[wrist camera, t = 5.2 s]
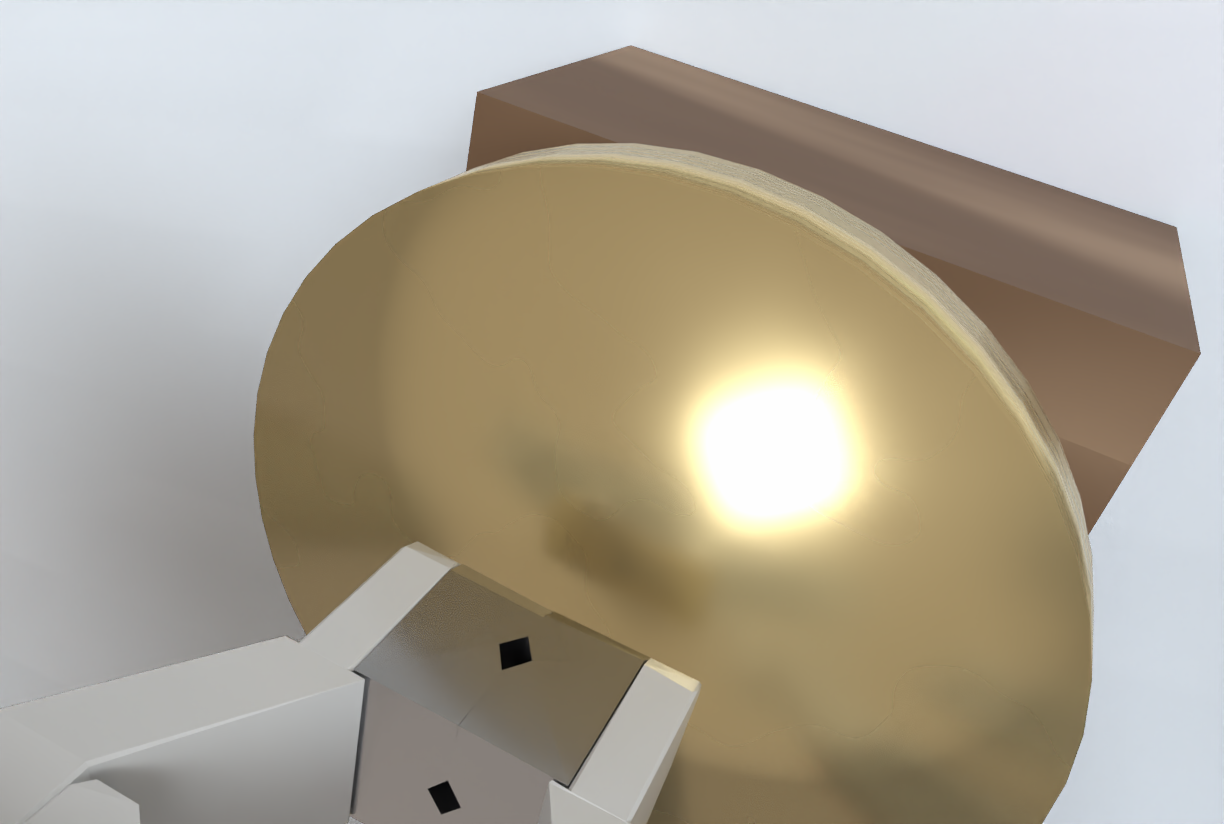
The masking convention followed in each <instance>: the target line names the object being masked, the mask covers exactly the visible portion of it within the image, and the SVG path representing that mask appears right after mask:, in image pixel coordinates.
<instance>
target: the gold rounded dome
mask: <svg viewBox="0 0 1224 824" xmlns="http://www.w3.org/2000/svg"><path fill="white" fill-rule="evenodd" d="M254 453H255V477H256V483H257V489H258V496H259V502H260V508H261V514H262V520H263V523H264V527H265V531H266V534H267V538H268V541H269V545H270V549H271V552H272V556H273V560H274V562H275V565H276V567H277V570H278V573H279V575H280V578H281V580H282V583H283V586H284V588H285V591H286V593H287V596H288V599H289V601H290V603H291V605H292V607H293V609H294V611H295V613H296V615H297V617H298V619H299V621H300V623H301V625H302V627H303V629H304V631H305V633H306V635H307V634H309V633H310V632H311V631H312V630H313V629H314V628H315V627H316V626H317V625H318V624H319V623H320V622H322V621H323V620H324V619H325V618H326V617H327V616H328V615H329V614H330V613H331V612H332V611H334V610H335V609H336V608H337V607H338V606H339V605H340V604H341V603H342V602H343V601H344V600H345V599H347V598H348V597H349V596H350V595H351V594H352V593H353V592H354V591H355V590H356V589H357V588H358V587H360V586H361V585H362V584H363V583H364V582H365V581H366V580H367V579H368V578H369V577H370V576H372V575H373V574H374V573H375V572H376V571H377V570H378V569H379V568H380V567H381V566H382V565H383V564H385V563H386V562H387V561H388V560H389V559H390V558H391V557H392V556H393V555H394V554H395V553H396V552H398V551H399V550H400V549H401V548H402V547H405V546H407V545H410V544H412V543H415V542H417V541H418V542H420V543H422V544H424V545H426V546H428V547H430V548H431V549H433V550H435V551H437V552H439V553H441V554H443V555H445V556H447V557H448V558H450V559H452V560H454V561H456V562H458V563H460V564H464V565H466V566H468V567H469V568H471V569H473V570H475V571H477V572H479V573H481V574H483V575H485V576H486V577H488V578H490V579H492V580H494V581H496V582H498V583H500V584H502V585H503V586H505V587H507V588H509V589H511V590H513V591H515V592H517V593H519V594H521V595H522V596H524V597H526V598H528V599H530V600H532V601H534V602H536V603H538V604H539V605H541V606H543V607H545V608H547V609H549V610H551V611H552V612H554V611H555V612H557V613H559V614H561V615H563V616H565V617H567V618H569V619H571V620H574V621H576V622H578V623H580V624H582V625H584V626H586V627H588V628H590V629H592V630H594V631H596V632H598V633H600V634H602V635H605V636H607V637H609V638H611V639H613V640H615V641H617V642H619V643H621V644H623V645H625V646H627V647H629V648H631V649H633V650H636V651H638V652H640V653H642V654H644V655H646V656H648V657H650V658H652V659H654V660H656V661H658V662H660V663H662V664H664V665H666V666H668V667H671V668H673V669H675V670H677V671H679V672H681V673H683V674H685V675H687V676H689V677H691V678H693V679H695V680H697V681H699V682H700V683H701V689H700V693H699V696H698V698H697V701H696V703H695V706H694V709H693V711H692V714H691V716H690V719H689V721H688V724H687V727H686V729H685V732H684V734H683V737H682V739H681V742H680V745H679V747H678V750H677V752H676V755H675V757H674V760H673V762H672V765H671V768H670V770H669V772H668V775H667V777H666V779H665V782H664V784H663V786H662V789H661V791H660V793H659V796H658V798H657V800H656V803H655V805H654V807H653V810H652V812H651V815H650V817H649V819H648V821H647V824H1042V823H1043V821H1044V819H1045V818H1046V816H1047V814H1048V813H1049V811H1050V809H1051V808H1052V806H1053V804H1054V803H1055V801H1056V799H1057V798H1058V796H1059V794H1060V793H1061V791H1062V789H1063V788H1064V786H1065V784H1066V782H1067V779H1068V777H1069V774H1070V771H1071V768H1072V765H1073V763H1074V760H1075V757H1076V754H1077V751H1078V749H1079V746H1080V743H1081V740H1082V737H1083V734H1084V728H1085V721H1086V715H1087V708H1088V702H1089V695H1090V688H1091V682H1092V651H1093V615H1094V605H1093V571H1092V552H1091V547H1090V542H1089V537H1088V532H1087V527H1086V522H1085V517H1084V512H1083V507H1082V502H1081V497H1080V494H1079V492H1078V489H1077V486H1076V483H1075V481H1074V478H1073V475H1072V473H1071V470H1070V467H1069V464H1068V462H1067V459H1066V456H1065V454H1064V451H1063V448H1062V445H1061V443H1060V440H1059V438H1058V436H1057V434H1056V432H1055V430H1054V428H1053V427H1052V425H1051V423H1050V421H1049V419H1048V418H1047V416H1046V414H1045V412H1044V410H1043V408H1042V407H1041V405H1040V403H1039V401H1038V399H1037V397H1036V396H1035V394H1034V392H1033V390H1032V388H1031V386H1030V385H1029V383H1028V381H1027V380H1026V378H1025V377H1024V376H1023V374H1022V373H1021V372H1020V370H1019V369H1018V367H1017V366H1016V365H1015V363H1014V362H1013V361H1012V359H1011V358H1010V357H1009V355H1008V354H1007V353H1006V351H1005V350H1004V349H1003V347H1002V346H1001V345H1000V343H999V342H998V341H997V339H996V338H995V337H994V335H993V334H992V333H991V331H990V330H989V329H988V327H987V326H986V325H985V324H984V323H983V322H982V321H981V320H980V319H979V318H978V317H977V316H976V315H975V314H974V313H973V312H972V311H971V310H970V308H969V307H968V306H967V305H966V304H965V303H964V302H963V301H962V300H961V299H960V298H959V297H958V296H957V295H956V294H955V293H954V292H953V291H952V290H951V289H950V288H949V287H948V286H947V285H946V284H945V283H944V282H943V281H942V280H941V279H940V278H939V277H938V276H937V275H936V274H935V273H933V272H932V271H931V270H929V269H928V268H927V267H926V266H924V265H923V264H922V263H921V262H919V261H918V260H917V259H915V258H914V257H913V256H912V255H910V254H909V253H908V252H907V251H905V250H904V249H903V248H901V247H900V246H899V245H898V244H896V243H895V242H894V241H893V240H891V239H890V238H889V237H888V236H886V235H885V234H884V233H882V232H881V231H879V230H877V229H876V228H874V227H872V226H871V225H869V224H867V223H866V222H864V221H862V220H861V219H859V218H857V217H856V216H854V215H852V214H851V213H849V212H847V211H846V210H844V209H842V208H841V207H839V206H837V205H835V204H834V203H832V202H830V201H829V200H827V199H825V198H824V197H822V196H820V195H817V194H815V193H813V192H810V191H808V190H806V189H804V188H801V187H799V186H797V185H794V184H792V183H790V182H787V181H785V180H783V179H780V178H778V177H776V176H773V175H771V174H769V173H766V172H764V171H762V170H759V169H756V168H752V167H749V166H745V165H742V164H738V163H735V162H731V161H728V160H724V159H720V158H717V157H713V156H710V155H706V154H703V153H699V152H694V151H687V150H680V149H673V148H666V147H658V146H651V145H644V144H637V143H602V144H572V145H565V146H559V147H553V148H546V149H540V150H534V151H527V152H522V153H519V154H516V155H513V156H510V157H507V158H504V159H501V160H498V161H494V162H491V163H488V164H485V165H482V166H479V167H476V168H473V169H471V170H469V171H466V172H464V173H461V174H459V175H457V176H454V177H452V178H450V179H447V180H445V181H442V182H440V183H438V184H435V185H433V186H430V187H428V188H426V189H423V190H421V191H419V192H416V193H414V194H412V195H411V196H409V197H407V198H405V199H403V200H401V201H399V202H397V203H395V204H393V205H391V206H390V207H388V208H386V209H384V210H382V211H380V212H378V213H376V214H374V215H372V216H371V217H370V218H369V219H367V220H366V221H365V222H363V223H362V224H361V225H360V226H358V227H357V228H356V229H354V230H353V231H352V232H351V233H349V234H348V235H347V236H345V237H344V238H343V239H342V240H340V241H339V242H338V243H336V244H335V245H334V246H333V248H332V249H331V250H330V251H329V252H328V253H327V254H326V255H325V256H324V258H323V259H322V260H321V261H320V262H319V263H318V264H317V265H316V267H315V268H314V269H313V270H312V271H311V272H310V273H309V274H308V275H307V277H306V278H305V279H304V281H303V283H302V284H301V286H300V287H299V289H298V291H297V292H296V294H295V295H294V297H293V299H292V300H291V302H290V304H289V305H288V307H287V308H286V310H285V312H284V313H283V315H282V318H281V320H280V323H279V325H278V327H277V330H276V332H275V335H274V337H273V340H272V342H271V345H270V347H269V349H268V352H267V355H266V360H265V364H264V368H263V372H262V377H261V381H260V385H259V389H258V393H257V404H256V416H255V427H254Z"/></svg>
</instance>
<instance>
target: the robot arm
mask: <svg viewBox="0 0 1224 824" xmlns="http://www.w3.org/2000/svg"><path fill="white" fill-rule="evenodd" d="M700 689H701V683H700V682H699V681H697V680H695V679H693V678H691V677H689V676H687V675H685V674H683V673H681V672H679V671H677V670H675V669H673V668H671V667H668V666H666V665H664V664H662V663H660V662H658V661H656V660H654V659H652V658H650V657H648V656H646V655H644V654H642V653H640V652H638V651H636V650H633V649H631V648H629V647H627V646H625V645H623V644H621V643H619V642H617V641H615V640H613V639H611V638H609V637H607V636H605V635H602V634H600V633H598V632H596V631H594V630H592V629H590V628H588V627H586V626H584V625H582V624H580V623H578V622H576V621H574V620H571V619H569V618H567V617H565V616H563V615H561V614H559V613H557V612H555V611H554V612H552V611H551V610H549V609H547V608H545V607H543V606H541V605H539V604H538V603H536V602H534V601H532V600H530V599H528V598H526V597H524V596H522V595H521V594H519V593H517V592H515V591H513V590H511V589H509V588H507V587H505V586H503V585H502V584H500V583H498V582H496V581H494V580H492V579H490V578H488V577H486V576H485V575H483V574H481V573H479V572H477V571H475V570H473V569H471V568H469V567H468V566H466V565H464V564H460V563H458V562H456V561H454V560H452V559H450V558H448V557H447V556H445V555H443V554H441V553H439V552H437V551H435V550H433V549H431V548H430V547H428V546H426V545H424V544H422V543H420V542H418V541H417V542H415V543H412V544H410V545H407V546H405V547H402V548H401V549H400V550H399V551H398V552H396V553H395V554H394V555H393V556H392V557H391V558H390V559H389V560H388V561H387V562H386V563H385V564H383V565H382V566H381V567H380V568H379V569H378V570H377V571H376V572H375V573H374V574H373V575H372V576H370V577H369V578H368V579H367V580H366V581H365V582H364V583H363V584H362V585H361V586H360V587H358V588H357V589H356V590H355V591H354V592H353V593H352V594H351V595H350V596H349V597H348V598H347V599H345V600H344V601H343V602H342V603H341V604H340V605H339V606H338V607H337V608H336V609H335V610H334V611H332V612H331V613H330V614H329V615H328V616H327V617H326V618H325V619H324V620H323V621H322V622H320V623H319V624H318V625H317V626H316V627H315V628H314V629H313V630H312V631H311V632H310V633H309V634H307V635H306V636H305V637H304V638H303V639H302V640H301V641H300V642H297V641H295V640H293V639H291V638H289V637H287V636H282V637H278V638H274V639H270V640H266V641H262V642H258V643H254V644H250V645H246V646H243V647H239V648H235V649H231V650H227V651H223V652H219V653H215V654H211V655H207V656H204V657H200V658H196V659H192V660H188V661H184V662H180V663H176V664H172V665H168V666H165V667H161V668H157V669H153V670H149V671H145V672H141V673H137V674H133V675H129V676H126V677H122V678H118V679H114V680H110V681H106V682H102V683H98V684H94V685H90V686H87V687H83V688H79V689H75V690H71V691H67V692H63V693H59V694H55V695H51V696H48V697H44V698H40V699H36V700H32V701H28V702H24V703H20V704H16V705H12V706H9V707H5V708H1V709H0V824H346V823H348V822H349V816H351V817H353V818H354V819H356V820H358V821H360V822H362V823H364V824H647V821H648V819H649V817H650V815H651V812H652V810H653V807H654V805H655V803H656V800H657V798H658V796H659V793H660V791H661V789H662V786H663V784H664V782H665V779H666V777H667V775H668V772H669V770H670V768H671V765H672V762H673V760H674V757H675V755H676V752H677V750H678V747H679V745H680V742H681V739H682V737H683V734H684V732H685V729H686V727H687V724H688V721H689V719H690V716H691V714H692V711H693V709H694V706H695V703H696V701H697V698H698V696H699V693H700Z"/></svg>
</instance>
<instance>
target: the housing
mask: <svg viewBox="0 0 1224 824" xmlns="http://www.w3.org/2000/svg"><path fill="white" fill-rule="evenodd" d="M602 143H637V144H644V145H651V146H658V147H666V148H673V149H680V150H687V151H694V152H699V153H703V154H706V155H710V156H713V157H717V158H720V159H724V160H728V161H731V162H735V163H738V164H742V165H745V166H749V167H752V168H756V169H759V170H762V171H764V172H766V173H769V174H771V175H773V176H776V177H778V178H780V179H783V180H785V181H787V182H790V183H792V184H794V185H797V186H799V187H801V188H804V189H806V190H808V191H810V192H813V193H815V194H817V195H820V196H822V197H824V198H825V199H827V200H829V201H830V202H832V203H834V204H835V205H837V206H839V207H841V208H842V209H844V210H846V211H847V212H849V213H851V214H852V215H854V216H856V217H857V218H859V219H861V220H862V221H864V222H866V223H867V224H869V225H871V226H872V227H874V228H876V229H877V230H879V231H881V232H882V233H884V234H885V235H886V236H888V237H889V238H890V239H891V240H893V241H894V242H895V243H896V244H898V245H899V246H900V247H901V248H903V249H904V250H905V251H907V252H908V253H909V254H910V255H912V256H913V257H914V258H915V259H917V260H918V261H919V262H921V263H922V264H923V265H924V266H926V267H927V268H928V269H929V270H931V271H932V272H933V273H935V274H936V275H937V276H938V277H939V278H940V279H941V280H942V281H943V282H944V283H945V284H946V285H947V286H948V287H949V288H950V289H951V290H952V291H953V292H954V293H955V294H956V295H957V296H958V297H959V298H960V299H961V300H962V301H963V302H964V303H965V304H966V305H967V306H968V307H969V308H970V310H971V311H972V312H973V313H974V314H975V315H976V316H977V317H978V318H979V319H980V320H981V321H982V322H983V323H984V324H985V325H986V326H987V327H988V329H989V330H990V331H991V333H992V334H993V335H994V337H995V338H996V339H997V341H998V342H999V343H1000V345H1001V346H1002V347H1003V349H1004V350H1005V351H1006V353H1007V354H1008V355H1009V357H1010V358H1011V359H1012V361H1013V362H1014V363H1015V365H1016V366H1017V367H1018V369H1019V370H1020V372H1021V373H1022V374H1023V376H1024V377H1025V378H1026V380H1027V381H1028V383H1029V385H1030V386H1031V388H1032V390H1033V392H1034V394H1035V396H1036V397H1037V399H1038V401H1039V403H1040V405H1041V407H1042V408H1043V410H1044V412H1045V414H1046V416H1047V418H1048V419H1049V421H1050V423H1051V425H1052V427H1053V428H1054V430H1055V432H1056V434H1057V436H1058V438H1059V440H1060V443H1061V445H1062V448H1063V451H1064V454H1065V456H1066V459H1067V462H1068V464H1069V467H1070V470H1071V473H1072V475H1073V478H1074V481H1075V483H1076V486H1077V489H1078V492H1079V494H1080V497H1081V502H1082V507H1083V512H1084V517H1085V522H1086V527H1087V532H1088V535H1089V533H1090V531H1091V530H1092V528H1093V527H1094V525H1095V523H1096V522H1097V520H1098V519H1099V517H1100V515H1101V514H1102V512H1103V511H1104V509H1105V507H1106V506H1107V504H1108V502H1109V501H1110V499H1111V498H1112V496H1113V494H1114V493H1115V491H1116V490H1117V488H1118V486H1119V485H1120V483H1121V482H1122V480H1123V478H1124V477H1125V475H1126V473H1127V472H1128V470H1129V469H1130V467H1131V465H1132V464H1133V462H1134V461H1135V459H1136V457H1137V456H1138V454H1139V453H1140V451H1141V449H1142V448H1143V446H1144V444H1145V443H1146V441H1147V440H1148V438H1149V436H1150V435H1151V433H1152V432H1153V430H1154V428H1155V427H1156V425H1157V424H1158V422H1159V420H1160V419H1161V417H1162V415H1163V414H1164V412H1165V411H1166V409H1167V407H1168V406H1169V404H1170V403H1171V401H1172V399H1173V398H1174V396H1175V395H1176V393H1177V391H1178V390H1179V388H1180V386H1181V385H1182V383H1183V382H1184V380H1185V378H1186V377H1187V375H1188V374H1189V372H1190V370H1191V369H1192V367H1193V366H1194V364H1195V362H1196V361H1197V359H1198V357H1199V356H1200V354H1201V352H1200V347H1199V342H1198V337H1197V332H1196V326H1195V321H1194V316H1193V311H1192V306H1191V300H1190V295H1189V290H1188V285H1187V280H1186V274H1185V269H1184V264H1183V259H1182V254H1181V248H1180V243H1179V238H1178V233H1177V228H1176V227H1174V226H1171V225H1168V224H1165V223H1162V222H1159V221H1156V220H1153V219H1150V218H1147V217H1144V216H1141V215H1138V214H1135V213H1132V212H1129V211H1126V210H1123V209H1120V208H1117V207H1114V206H1111V205H1108V204H1105V203H1102V202H1099V201H1096V200H1093V199H1090V198H1087V197H1084V196H1081V195H1078V194H1075V193H1072V192H1069V191H1066V190H1063V189H1060V188H1057V187H1054V186H1051V185H1048V184H1045V183H1042V182H1039V181H1036V180H1033V179H1030V178H1027V177H1024V176H1021V175H1018V174H1015V173H1012V172H1009V171H1006V170H1003V169H1000V168H997V167H994V166H991V165H988V164H985V163H982V162H979V161H976V160H973V159H970V158H967V157H964V156H961V155H958V154H955V153H952V152H949V151H946V150H943V149H940V148H937V147H934V146H931V145H928V144H925V143H922V142H919V141H916V140H913V139H910V138H907V137H904V136H901V135H898V134H895V133H892V132H889V131H886V130H883V129H880V128H877V127H874V126H871V125H868V124H865V123H862V122H859V121H856V120H853V119H850V118H847V117H844V116H841V115H838V114H835V113H832V112H829V111H826V110H823V109H820V108H817V107H814V106H811V105H808V104H805V103H802V102H799V101H796V100H793V99H790V98H787V97H784V96H781V95H778V94H775V93H772V92H769V91H766V90H763V89H760V88H757V87H754V86H751V85H748V84H745V83H742V82H739V81H736V80H733V79H730V78H727V77H724V76H721V75H718V74H715V73H712V72H709V71H706V70H703V69H700V68H697V67H694V66H691V65H688V64H685V63H682V62H679V61H676V60H673V59H670V58H667V57H664V56H661V55H658V54H655V53H652V52H649V51H646V50H643V49H640V48H637V47H634V46H628V47H624V48H621V49H618V50H614V51H611V52H608V53H604V54H601V55H598V56H594V57H591V58H588V59H585V60H581V61H578V62H575V63H571V64H568V65H565V66H561V67H558V68H555V69H551V70H548V71H545V72H541V73H538V74H535V75H532V76H528V77H525V78H522V79H518V80H515V81H512V82H508V83H505V84H502V85H498V86H495V87H492V88H488V89H485V90H482V91H479V92H477V97H476V104H475V111H474V118H473V126H472V133H471V140H470V147H469V154H468V162H467V169H466V171H469V170H471V169H473V168H476V167H479V166H482V165H485V164H488V163H491V162H494V161H498V160H501V159H504V158H507V157H510V156H513V155H516V154H519V153H522V152H527V151H534V150H540V149H546V148H553V147H559V146H565V145H572V144H602Z"/></svg>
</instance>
